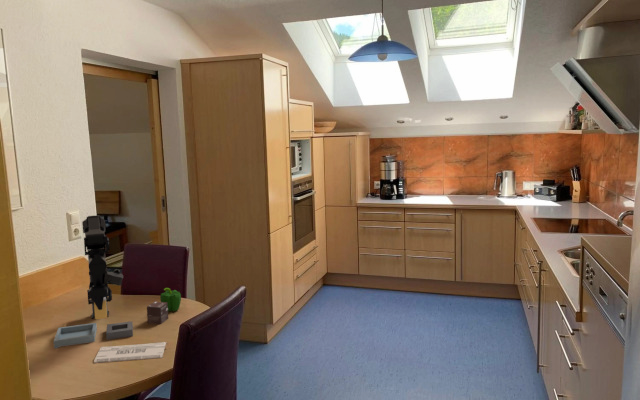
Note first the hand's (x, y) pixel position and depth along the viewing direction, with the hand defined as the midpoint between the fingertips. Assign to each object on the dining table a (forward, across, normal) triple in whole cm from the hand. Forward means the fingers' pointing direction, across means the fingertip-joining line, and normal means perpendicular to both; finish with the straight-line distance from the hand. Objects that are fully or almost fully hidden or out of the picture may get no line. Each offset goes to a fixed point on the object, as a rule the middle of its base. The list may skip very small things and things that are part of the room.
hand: (100, 308), depth 184 cm
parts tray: (+11, +1, +9) cm, 14 cm away
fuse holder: (+11, -1, -6) cm, 13 cm away
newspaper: (+12, -19, -10) cm, 24 cm away
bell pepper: (+11, +18, -27) cm, 34 cm away
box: (+11, +7, -20) cm, 24 cm away
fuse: (+4, 0, 0) cm, 4 cm away
